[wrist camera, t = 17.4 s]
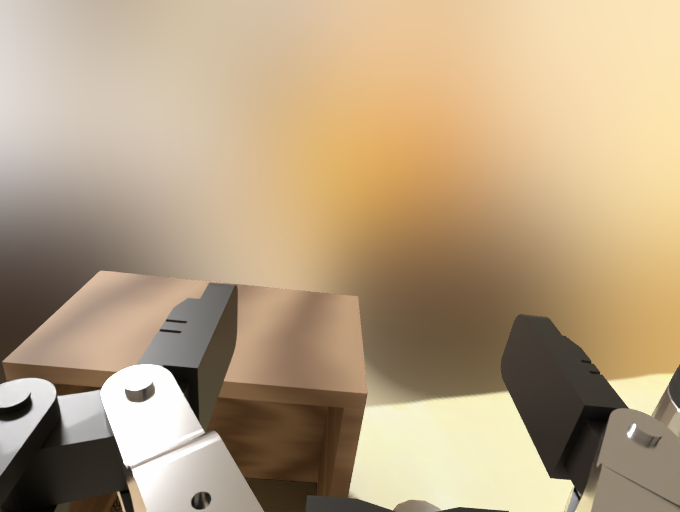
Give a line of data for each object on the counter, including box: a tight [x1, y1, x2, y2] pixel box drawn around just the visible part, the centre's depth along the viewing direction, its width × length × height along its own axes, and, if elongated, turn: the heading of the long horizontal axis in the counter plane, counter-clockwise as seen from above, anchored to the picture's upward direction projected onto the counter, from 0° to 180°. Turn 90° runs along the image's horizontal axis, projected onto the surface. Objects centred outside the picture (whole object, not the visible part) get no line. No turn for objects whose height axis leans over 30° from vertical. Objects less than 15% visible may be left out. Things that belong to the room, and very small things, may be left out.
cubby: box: [3, 271, 367, 512], centre depth 34 cm, size 20×11×20 cm, turn 91°
